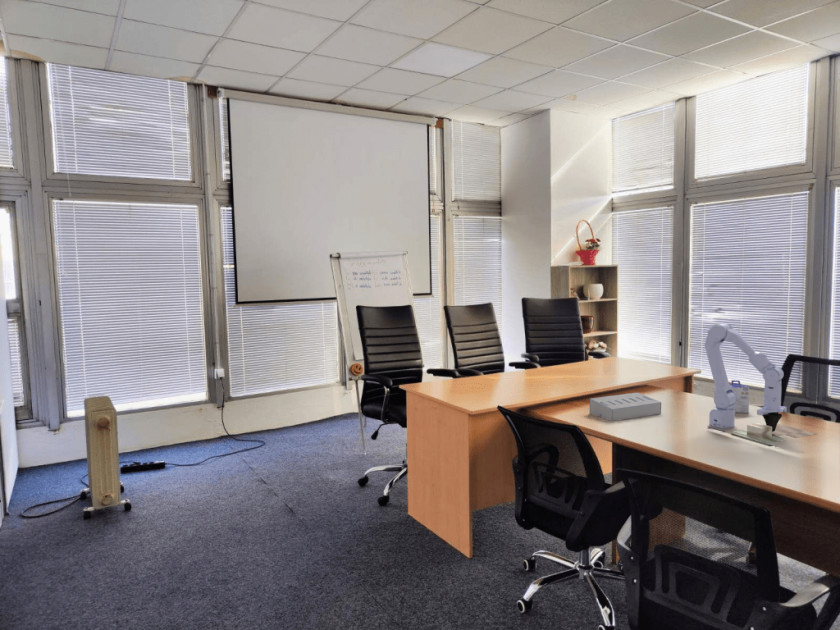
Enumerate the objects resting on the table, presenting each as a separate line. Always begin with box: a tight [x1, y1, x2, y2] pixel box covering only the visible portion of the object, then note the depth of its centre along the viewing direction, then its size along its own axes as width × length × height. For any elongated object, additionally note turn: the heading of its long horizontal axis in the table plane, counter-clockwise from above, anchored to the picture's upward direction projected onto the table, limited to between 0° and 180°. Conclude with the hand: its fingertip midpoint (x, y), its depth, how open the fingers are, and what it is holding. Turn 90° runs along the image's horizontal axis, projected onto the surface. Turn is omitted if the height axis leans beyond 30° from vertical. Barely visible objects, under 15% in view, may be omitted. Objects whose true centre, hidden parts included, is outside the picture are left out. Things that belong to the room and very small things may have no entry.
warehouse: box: [589, 391, 662, 422], centre depth 260 cm, size 30×14×8 cm, turn 115°
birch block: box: [746, 422, 772, 439], centre depth 219 cm, size 6×6×4 cm
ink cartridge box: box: [730, 379, 750, 414], centre depth 262 cm, size 10×6×14 cm, turn 78°
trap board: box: [731, 423, 818, 447], centre depth 223 cm, size 28×16×2 cm, turn 113°
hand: (771, 431), depth 222 cm, fingers closed
